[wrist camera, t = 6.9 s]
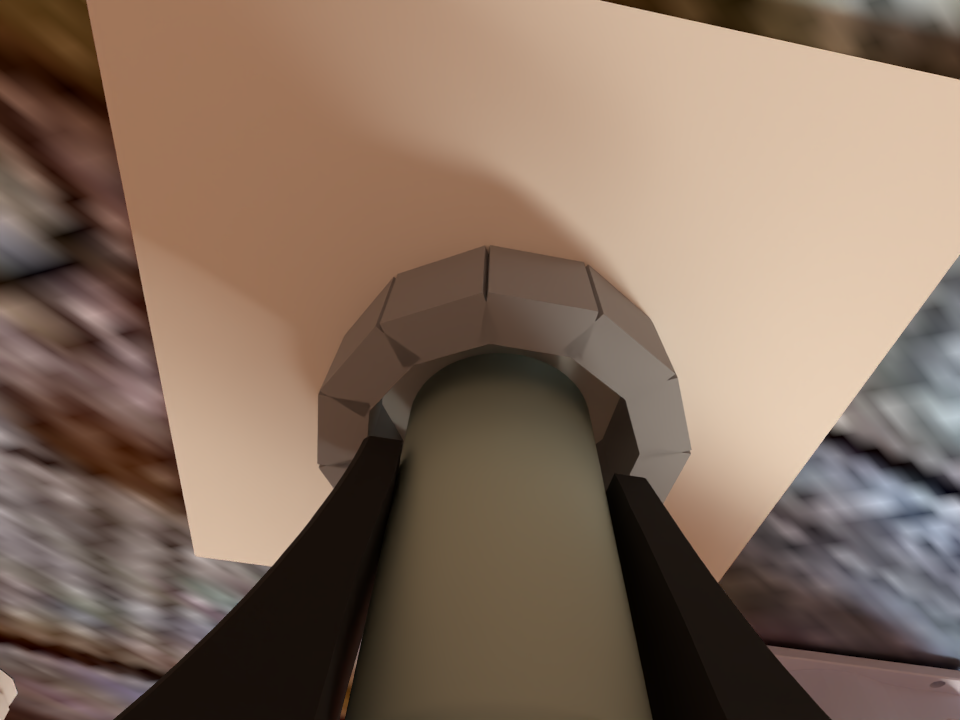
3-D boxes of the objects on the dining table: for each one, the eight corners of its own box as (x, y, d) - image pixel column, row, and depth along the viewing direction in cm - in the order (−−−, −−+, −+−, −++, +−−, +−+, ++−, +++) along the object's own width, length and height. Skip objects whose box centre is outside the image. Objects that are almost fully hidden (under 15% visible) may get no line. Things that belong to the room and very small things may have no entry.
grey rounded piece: (616, 374, 11) (722, 731, 6) (558, 501, 13) (597, 843, 8) (425, 335, 11) (350, 679, 5) (398, 472, 13) (327, 812, 8)
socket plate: (1021, 94, 10) (1198, 130, 7) (680, 594, 19) (708, 686, 16) (104, -108, 9) (-56, -147, 6) (209, 529, 18) (161, 618, 15)
